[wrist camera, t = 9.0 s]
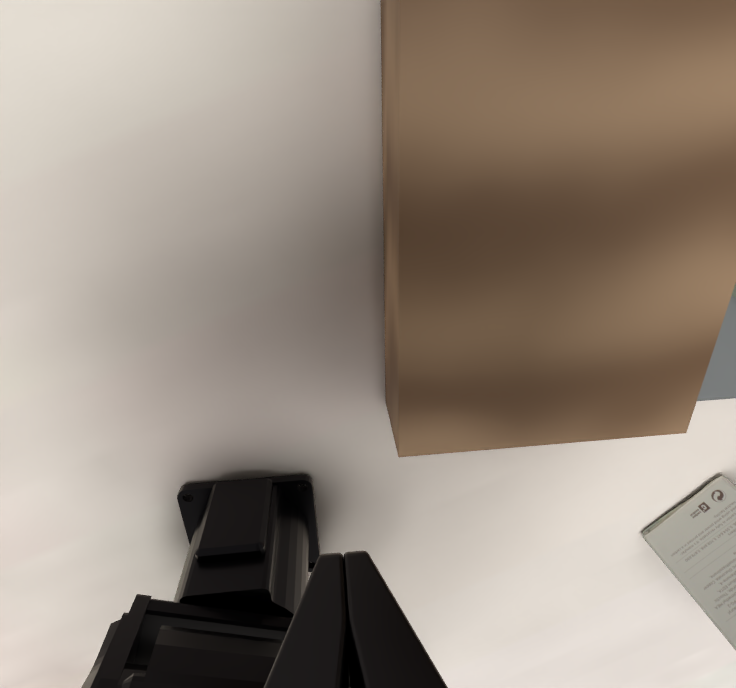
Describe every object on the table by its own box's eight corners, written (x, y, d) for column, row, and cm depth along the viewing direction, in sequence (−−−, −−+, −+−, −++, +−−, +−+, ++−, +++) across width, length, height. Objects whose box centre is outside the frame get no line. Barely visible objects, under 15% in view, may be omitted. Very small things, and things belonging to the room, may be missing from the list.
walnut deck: (628, 383, 23) (685, 432, 20) (385, 401, 22) (398, 457, 19) (749, -99, 15) (883, -164, 12) (379, -100, 14) (400, -171, 11)
